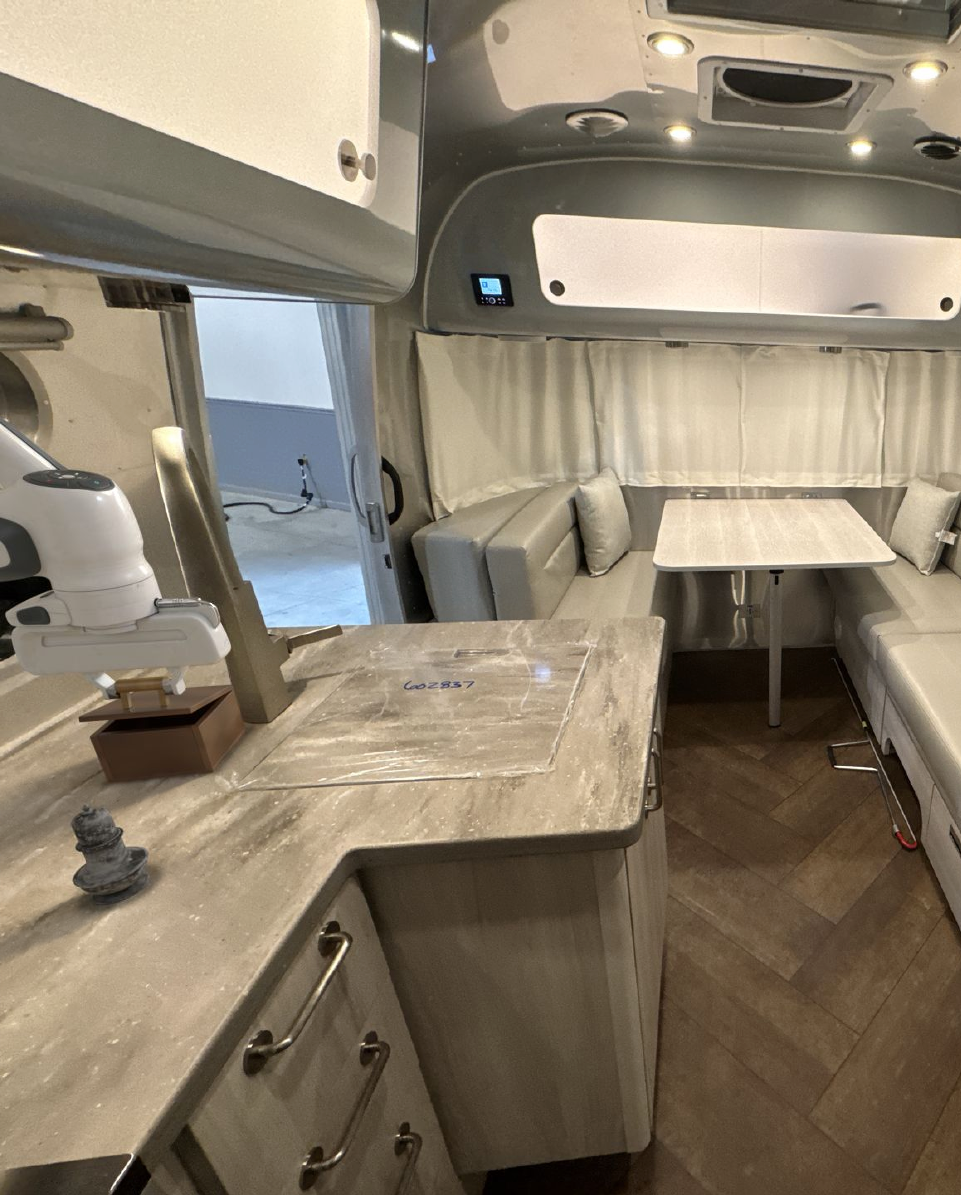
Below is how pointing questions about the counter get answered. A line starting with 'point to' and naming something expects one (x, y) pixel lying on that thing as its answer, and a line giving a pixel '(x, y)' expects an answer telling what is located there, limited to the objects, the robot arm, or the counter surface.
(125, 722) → the bread box
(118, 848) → the grey tiered ornament
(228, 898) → the counter surface
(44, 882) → the counter surface
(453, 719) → the counter surface
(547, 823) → the counter surface
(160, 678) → the lid
